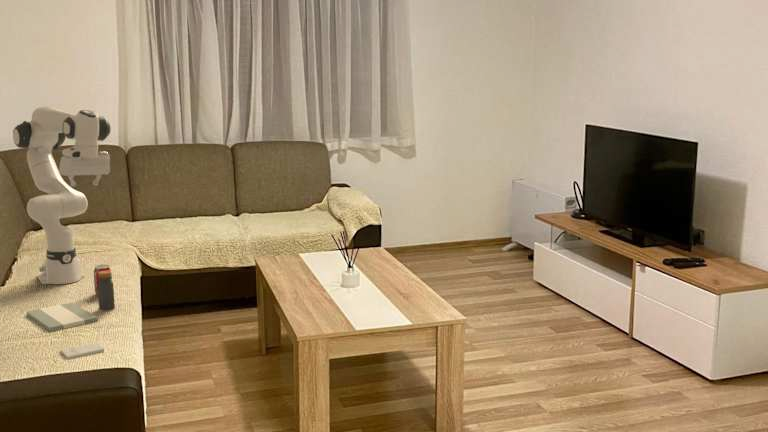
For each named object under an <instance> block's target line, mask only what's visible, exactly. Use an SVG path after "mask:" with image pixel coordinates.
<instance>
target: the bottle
mask: <svg viewBox="0 0 768 432" xmlns="http://www.w3.org/2000/svg"><path fill="white" fill-rule="evenodd" d="M111 274H112V270H111V271H100V272H99V277H98V280H100V282H99V283H98V295H97V296H98V309H99V310H100V311H102V312H103V311H106V312H107V311H111V310H114V309H115V308H116V307H115V292H114V282H113V277H112V276H111ZM110 279H112V281H111V280H110Z"/></svg>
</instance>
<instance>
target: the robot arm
mask: <svg viewBox="0 0 768 432" xmlns="http://www.w3.org/2000/svg"><path fill="white" fill-rule="evenodd" d="M110 134H111V125H110V122H109V120H108V119H107V118H105V117H104V116H101V115H99V114H98V113H97V112H95V111H91V110H87V109H84V110H83V109H81V110H79V111H78V112H77V114H74V113H71V112H68V111H65V110H62V109H60V108H57V107H54V106H47V105H46V106H45V105H44V106H40V107H37V108H35V109H34V111H33V112H32V114H31V120H30V121H26V120H24V121H23V122H22V123H20V124H18V125H16V126H15V127H14V128H13V130H12V140H13V143H14V144H15V146H16V147H17V148H19V149H27V150H28V151H27V152H26V159H27V165H28V168H29V171H30V174H31V177H32V179H33V182H34V185H35V186H36V188H37V189H38V190H39V191H41V192H44V193H46V194H42V195H37V196H34V197H31V198H30V199H29V200H28V202H27V204H26V212H27V214H28V216H29V218H31V220H33V221H34V222H36V223H38V224H39V225H40V226H41V227H42V229H43V231H44V234H45V237H46V245H47V249H46V252H45V255H46V258H45V259H44V261H43V262H42V263H41V265H40V266H38V267H39V272H40V273H37V274H36V277H37V278H38V280H39V282H40V284H42V285H64V284H65V285H66V284H72V283H75V282H78V281H81V279H82V278H85V277H84V276H85V273H82V267H81V260H80V258H78V257H77V250H76V246H75V237H74V232H73V229H71V228H70V227H68V226H66V225H64V224H61V222H60V219H63V218H72V217H76V216H80V215H81V214H84V213H86V211H87V210H88V206H89V205H88V204H89V201H88V199H87V197H86V195H85V194H84V193H83V192H81V191H79V190H76V189H74V188H73V187H77V181H75V180H74V178H75V176H92V175H93V176H95V178H94V180H92V186H99V181H100V179H102V175H103V176H104V175H109V173H110V171H111V166H110V164H111V163H110V160H111V155H110V152H109V153H108V152H107V151H99V142H104V141H105V140H106V139H107V138H108V137H109V136H110ZM66 138H67V139H69V140H72V141H73V140H74V141H75V143H74V145H73V146H70V147H68V148H64V149H63V150H62V151H61V152H62V153H61V154H62V156H61V158H60V162H59V168H58V165H57V163H56V161H55V159H54V157H53V150H54V151H57V150H58V149H59V147H60V146H62V145H63V143H65V140H66ZM62 176H64V177H65V176H67V178H68V180H69V182H70V185H69V184H68V183H67V182H66V181H65V180H64V179H63V177H62Z"/></svg>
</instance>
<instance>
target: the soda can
mask: <svg viewBox="0 0 768 432" xmlns="http://www.w3.org/2000/svg"><path fill="white" fill-rule="evenodd" d="M100 271H111V272H112V269H111V268H110V265H109V264H99V265H95V266H94V270H93V282H94V283H93V285H94V294H96V295H97V296H98V283H99V282H100V280H98V277H99V272H100ZM112 274H113V273H111V276H112ZM110 280H111V281H112V282H113V278H112V279H110Z"/></svg>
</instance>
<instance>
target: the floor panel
mask: <svg viewBox="0 0 768 432" xmlns="http://www.w3.org/2000/svg"><path fill="white" fill-rule="evenodd" d="M26 316H27V317H28V318H29V319H31V320H33V321H34V322H35V323H36V324H39V325H40V326H41V327H43V328H44V329H46V330H47V331H48V332H55V331H59V330H63V329H68V328H72V327H76V326H82V325H85V323H86V324H90V323H95V322H98V316H96V315H94V314H93V313H91V312H89V311H88V310H86V309H85V308H83V307H81V306H80V305H78V304H76V303H74V302H67V303H63V304H57V305H54V306H53V305H52V306H48V307H42V308H38V309H32V310H29V311H26ZM81 324H82V325H81Z"/></svg>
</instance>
